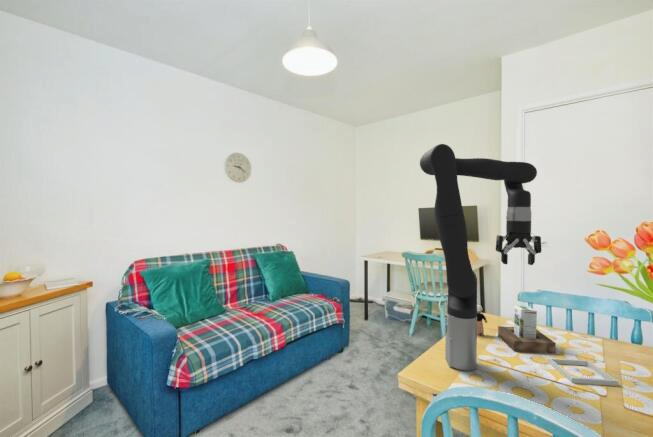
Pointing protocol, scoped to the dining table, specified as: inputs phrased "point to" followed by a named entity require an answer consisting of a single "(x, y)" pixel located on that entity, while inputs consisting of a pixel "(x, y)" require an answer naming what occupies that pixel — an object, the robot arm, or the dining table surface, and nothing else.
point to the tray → (606, 381)
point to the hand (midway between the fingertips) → (517, 264)
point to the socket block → (526, 342)
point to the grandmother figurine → (480, 321)
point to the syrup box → (525, 322)
